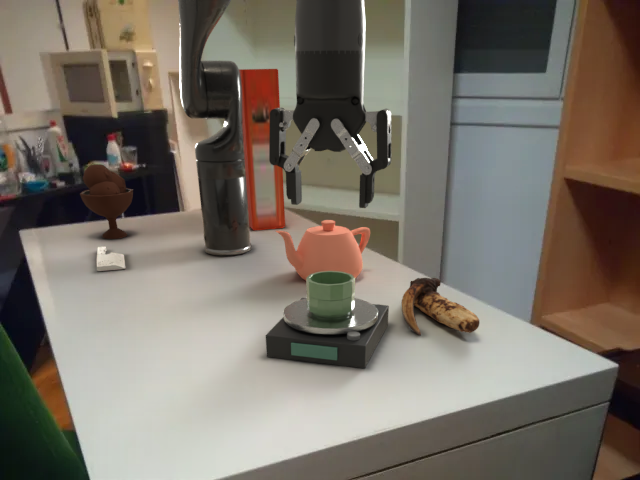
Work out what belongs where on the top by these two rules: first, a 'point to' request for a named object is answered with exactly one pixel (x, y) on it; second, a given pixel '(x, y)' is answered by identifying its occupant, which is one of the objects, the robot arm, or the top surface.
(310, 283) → the green cup
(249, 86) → the file binder
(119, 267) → the white slab with peg
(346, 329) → the scale pan
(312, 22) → the robot arm
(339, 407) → the top surface
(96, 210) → the ice cream bowl
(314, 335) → the scale
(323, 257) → the teapot
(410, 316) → the partly peeled banana
